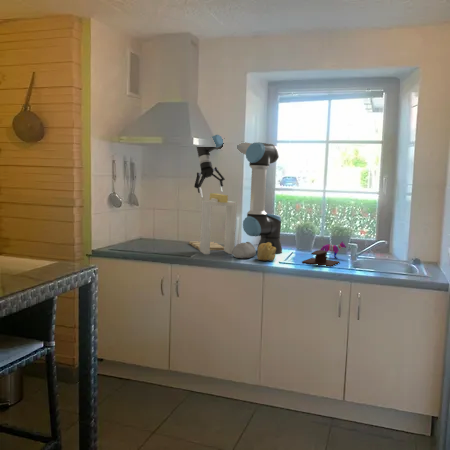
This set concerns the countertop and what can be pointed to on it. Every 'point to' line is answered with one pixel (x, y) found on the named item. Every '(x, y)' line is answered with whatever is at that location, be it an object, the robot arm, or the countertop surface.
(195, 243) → the board
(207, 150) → the robot arm
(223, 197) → the bar
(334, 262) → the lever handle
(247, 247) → the decorative stone
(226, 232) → the bridge
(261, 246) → the stone
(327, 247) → the toy dog
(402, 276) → the countertop surface
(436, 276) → the countertop surface
